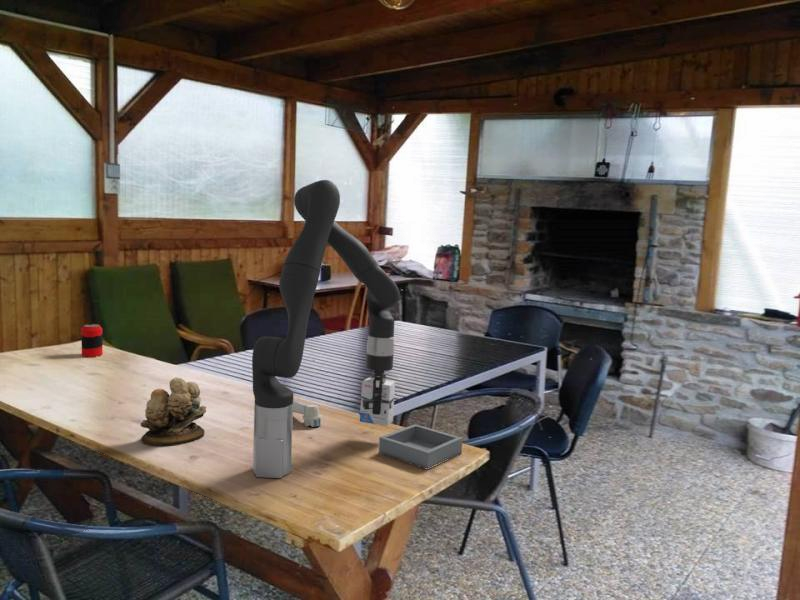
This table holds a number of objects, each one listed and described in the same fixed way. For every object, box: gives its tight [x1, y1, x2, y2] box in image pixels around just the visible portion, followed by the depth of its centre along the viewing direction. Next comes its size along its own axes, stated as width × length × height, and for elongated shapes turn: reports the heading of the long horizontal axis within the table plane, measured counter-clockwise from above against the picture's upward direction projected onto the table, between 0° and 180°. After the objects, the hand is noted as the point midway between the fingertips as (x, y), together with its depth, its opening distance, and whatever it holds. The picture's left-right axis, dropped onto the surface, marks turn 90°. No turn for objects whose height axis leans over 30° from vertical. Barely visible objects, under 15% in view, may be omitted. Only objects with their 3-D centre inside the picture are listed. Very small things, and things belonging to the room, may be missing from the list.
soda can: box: [80, 323, 104, 358], centre depth 276 cm, size 8×8×12 cm
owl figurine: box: [140, 377, 207, 447], centre depth 190 cm, size 18×12×17 cm, turn 133°
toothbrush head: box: [293, 399, 323, 428], centre depth 215 cm, size 5×7×25 cm
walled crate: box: [378, 424, 463, 470], centre depth 189 cm, size 16×16×4 cm
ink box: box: [359, 377, 396, 427], centre depth 197 cm, size 8×5×12 cm, turn 72°
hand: (376, 410), depth 197 cm, fingers closed on ink box, 6 cm apart
